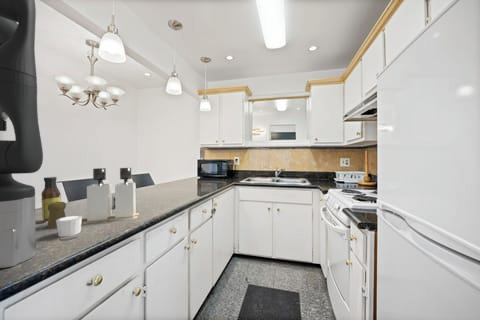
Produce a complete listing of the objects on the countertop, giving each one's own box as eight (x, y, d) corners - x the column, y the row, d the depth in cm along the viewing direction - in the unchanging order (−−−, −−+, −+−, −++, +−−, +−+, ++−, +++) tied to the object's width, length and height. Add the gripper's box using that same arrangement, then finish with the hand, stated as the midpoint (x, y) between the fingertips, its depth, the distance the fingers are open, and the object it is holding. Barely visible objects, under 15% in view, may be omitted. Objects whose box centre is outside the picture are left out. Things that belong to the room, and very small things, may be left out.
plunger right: (131, 213, 85) (130, 168, 85) (118, 214, 83) (118, 168, 83) (133, 210, 90) (132, 167, 90) (120, 211, 88) (120, 167, 88)
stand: (136, 221, 84) (136, 218, 84) (81, 227, 76) (81, 224, 76) (139, 215, 93) (139, 212, 93) (90, 220, 86) (90, 216, 86)
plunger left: (105, 215, 81) (104, 168, 81) (90, 217, 80) (90, 169, 79) (108, 212, 86) (107, 168, 86) (95, 213, 84) (94, 168, 84)
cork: (66, 225, 78) (65, 199, 78) (68, 229, 75) (68, 201, 75) (45, 230, 74) (45, 202, 74) (47, 234, 70) (46, 204, 70)
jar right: (133, 217, 85) (133, 184, 84) (115, 219, 82) (115, 185, 82) (135, 213, 91) (135, 182, 91) (118, 214, 88) (118, 183, 88)
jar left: (107, 220, 81) (106, 185, 81) (87, 222, 78) (86, 186, 78) (111, 215, 87) (111, 183, 87) (93, 217, 85) (92, 184, 85)
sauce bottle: (65, 218, 88) (65, 176, 88) (50, 223, 82) (50, 177, 81) (53, 218, 89) (52, 176, 88) (37, 222, 82) (36, 177, 82)
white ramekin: (63, 243, 63) (63, 222, 63) (51, 239, 65) (51, 219, 65) (86, 235, 69) (86, 216, 69) (75, 232, 71) (74, 214, 71)
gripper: (9, 83, 65) (10, 130, 65) (35, 96, 78) (36, 135, 78) (-22, 80, 62) (-22, 129, 62) (10, 94, 75) (11, 134, 76)
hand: (10, 132), depth 70 cm, fingers open, 8 cm apart
